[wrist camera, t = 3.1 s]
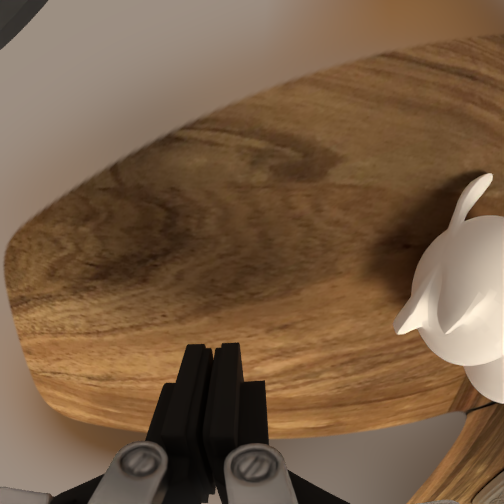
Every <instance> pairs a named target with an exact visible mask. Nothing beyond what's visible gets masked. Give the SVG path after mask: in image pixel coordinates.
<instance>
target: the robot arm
mask: <svg viewBox="0 0 504 504" xmlns="http://www.w3.org/2000/svg"><path fill="white" fill-rule="evenodd" d="M216 487H217V490H218V493H219V496H220V499H221V502H222V504H350V503H348V502H346V501H344V500H342V499H340V498H338V497H336V496H334V495H332V494H330V493H328V492H326V491H324V490H323V489H321V488H319V487H317V486H315V485H313V484H312V483H310V482H308V481H306V480H305V479H303V478H301V477H299V476H298V475H296V474H294V473H292V472H291V471H289V470H287V467H286V464H285V461H284V458H283V456H282V455H281V453H280V452H279V451H278V450H276V449H275V448H274V447H271V446H269V438H268V421H267V405H266V390H265V381H249V382H244V378H243V370H242V361H241V352H240V344H239V343H222V346H221V348H216V349H215V355H214V360H213V354H212V349H211V348H206V346H205V344H188V345H187V347H186V350H185V353H184V356H183V360H182V363H181V366H180V370H179V373H178V376H177V380H176V383H165V384H164V386H163V388H162V391H161V394H160V397H159V400H158V403H157V406H156V409H155V412H154V415H153V418H152V421H151V424H150V427H149V430H148V433H147V437H146V440H145V441H136V442H132V443H130V444H127V445H126V446H124V447H123V448H121V449H120V450H119V451H118V453H117V454H116V456H115V457H114V459H113V461H112V462H111V464H110V466H109V468H108V469H107V471H106V473H105V474H103V475H101V476H98V477H96V478H94V479H92V480H90V481H88V482H85V483H83V484H81V485H79V486H77V487H74V488H72V489H70V490H67V491H65V492H63V493H61V494H59V495H57V496H55V497H53V496H52V495H51V494H48V493H40V492H33V491H26V490H19V489H13V488H8V487H0V504H201V503H208V497H209V494H215V488H216ZM418 504H459V503H458V502H455V501H453V500H439V501H433V502H426V503H418Z"/></svg>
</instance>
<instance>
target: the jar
mask: <svg viewBox="0 0 504 504" xmlns="http://www.w3.org/2000/svg"><path fill="white" fill-rule="evenodd" d="M472 504H504V471H503V472H502V473H500V474H499V475H498V476H497V477H496V478H494V479H493V480H492V481H491V482H490V483H489V484H487V485H486V486H485V487H484V488H483V489H482V490H481V491H480V492H479V493H478V494H477V496H476V497H475V498H474V500H473V502H472Z"/></svg>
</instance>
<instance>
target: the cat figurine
mask: <svg viewBox="0 0 504 504" xmlns="http://www.w3.org/2000/svg"><path fill="white" fill-rule="evenodd" d="M492 179H493V176H492V174H491V173H488V174H484V175H482V176H480V177H478V178H476V179H475V180H473V181H471V182H470V183H469V184H468V186H467V187H466V188H465V189H464V190H463V192H462V194H461V196H460V198H459V200H458V202H457V205H456V208H455V211H454V213H453V216H452V219H451V221H450V224H449V227H448V229H447V230H446V231H444V232H443V233H442V234H440V235H439V236H438V237H437V238H436V239H435V240H434V241H433V242H432V243H431V244H430V245H429V247H428V248H427V249H426V251H425V252H424V254H423V255H422V257H421V259H420V261H419V263H418V265H417V268H416V271H415V274H414V278H413V282H412V291H411V297H410V298H409V300H408V301H407V303H406V304H405V305H404V307H403V308H402V310H401V311H400V312H399V313H398V315H397V316H396V318H395V320H394V322H393V327H394V330H395V332H396V333H397V335H398V334H405V333H407V332H409V331H411V330H414V329H418V331H419V333H420V335H421V337H422V338H423V340H424V341H425V343H426V344H427V346H428V347H429V348H430V349H431V350H432V351H433V352H434V353H435V354H436V355H438V356H439V357H440V358H442V359H443V360H445V361H447V362H450V363H453V364H457V365H463V366H464V369H465V372H466V374H467V376H468V378H469V380H470V382H471V383H472V384H473V386H474V387H475V388H476V389H477V390H478V391H479V392H480V393H481V394H482V395H484V396H485V397H487V398H488V399H490V400H493V401H495V402H498V403H503V404H504V217H501V216H495V215H487V216H479V217H475V218H472V219H469V220H466V221H464V220H465V217H466V215H467V213H468V212H469V210H470V209H471V208H472V206H473V205H474V204H475V203H476V201H477V200H478V199H479V198H480V196H481V195H482V194H483V193H484V191H485V190H486V189H487V187H488V186H489V185H490V183H491V181H492Z"/></svg>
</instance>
